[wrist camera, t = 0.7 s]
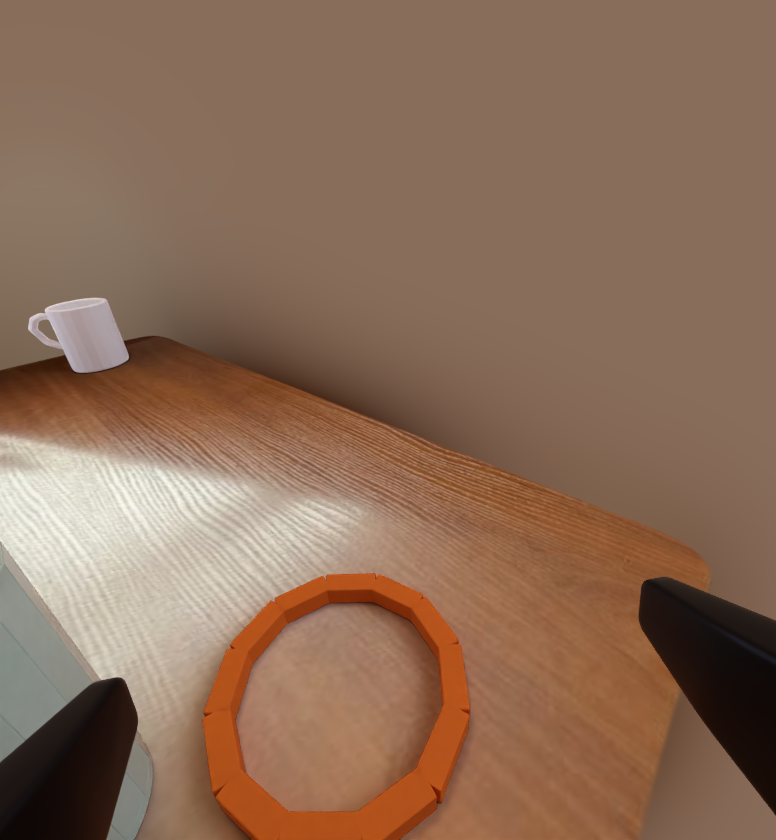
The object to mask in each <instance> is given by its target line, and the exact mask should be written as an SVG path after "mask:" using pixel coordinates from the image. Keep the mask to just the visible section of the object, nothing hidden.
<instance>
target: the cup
mask: <svg viewBox="0 0 776 840" xmlns="http://www.w3.org/2000/svg"><path fill="white" fill-rule="evenodd" d="M100 680H101V679H100V678H99V676H98V675H97V674H96V672H95V671H94V669H93V668H92V667H91V665H90V664H89V663H88V661H87V660H86V658H85V657H84V656H83V654H82V653H81V651H80V650H79V649H78V647H77V646H76V645H75V643H74V642H73V640H72V639H71V638H70V636H69V635H68V634H67V632H66V631H65V629H64V628H63V627H62V625H61V624H60V622H59V621H58V620H57V618H56V617H55V616H54V614H53V613H52V611H51V610H50V609H49V607H48V606H47V605H46V603H45V602H44V600H43V599H42V598H41V596H40V595H39V593H38V592H37V591H36V589H35V588H34V587H33V585H32V584H31V582H30V581H29V580H28V578H27V577H26V576H25V574H24V573H23V571H22V570H21V569H20V567H19V566H18V564H17V563H16V562H15V560H14V559H13V558H12V556H11V555H10V553H9V552H8V551H7V549H6V548H5V547H4V545H3V544H2V542H1V541H0V762H1V761H2V760H3V759H5V758H6V757H7V756H8V755H9V754H10V753H11V752H13V751H14V750H15V749H16V748H17V747H18V746H19V745H21V744H22V743H23V742H24V741H25V740H26V739H28V738H29V737H30V736H31V735H32V734H33V733H34V732H36V731H37V730H38V729H39V728H40V727H41V726H42V725H44V724H45V723H46V722H47V721H48V720H49V719H51V718H52V717H53V716H54V715H55V714H56V713H57V712H59V711H60V710H61V709H62V708H63V707H64V706H66V705H67V704H68V703H69V702H70V701H71V700H72V699H74V698H75V697H76V696H77V695H78V694H79V693H80V692H82V691H83V690H84V689H85V688H86V687H88V686H89V685H90V684H92V683H93V682H96V681H100ZM152 779H153V768H152V760H151V756H150V753H149V750H148V748H147V746H146V744H145V743H144V742H143V739H142V737H141V734H140V733H139V732H138V730H137V732H136V736H135V739H134V743H133V746H132V750H131V754H130V757H129V761H128V764H127V768H126V772H125V775H124V779H123V783H122V786H121V790H120V793H119V797H118V801H117V804H116V808H115V811H114V815H113V819H112V822H111V826H110V829H109V833H108V836H107V840H134V839H135V837H136V835H137V833H138V830H139V828H140V826H141V824H142V821H143V818H144V816H145V813H146V810H147V807H148V803H149V799H150V795H151V788H152Z"/></svg>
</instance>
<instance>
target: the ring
mask: <svg viewBox="0 0 776 840" xmlns="http://www.w3.org/2000/svg"><path fill="white" fill-rule="evenodd" d="M275 602H276V603H275ZM275 602H273V601H270V602H269V603H268V604H267V605H266V606H265V607H264V608H263V609H262V611H261V612H260V613H259V614H258V615H257V616H256V617H255V618H254V619H253V620H252V621H251V622H250V623H249V624H248V625H247V627H246V628H245V629H244V630H243V631H242V632H241V633H240V634H239V635H238V636H237V637H236V638H235V639H234V640H233V641H232V642H231V644H230V647H231V649H227V650H226V653H225V656H224V658H223V661H222V664H221V666H220V669H219V672H218V675H217V677H216V680H215V683H214V685H213V688H212V691H211V693H210V696H209V699H208V702H207V704H206V707H205V710H204V715H205V717H204V718H203V720H202V721H203V728H204V736H205V743H206V751H207V758H208V766H209V773H210V781H211V789H212V793H213V794H214V796H215V797H216V801H217V802H218V804H219V805H220V807H221V809H222V810H223V811H224V812H225V813H226V814H227V815H228V816H229V817H230V818H231V819H232V820H233V821H234V822H235V823H236V824H237V825H238V826H239V827H240V828H241V829H242V830H243V831H244V832H245V833H246V834H247V835H248V836H249V837H250V838H251V839H252V840H399V839H400V838H402V837H403V836H404V835H405V834H407V833H408V832H409V831H410V830H412V829H413V828H414V827H415V826H417V825H418V824H419V823H420V822H422V821H423V820H424V819H425V818H427V817H428V816H429V815H430V814H432V813H433V812H434V811H435V810H436V809H437V802H439V803H442V800H443V797H444V794H445V792H446V789H447V786H448V784H449V781H450V778H451V775H452V773H453V770H454V767H455V765H456V762H457V759H458V757H459V754H460V751H461V748H462V746H463V743H464V740H465V738H466V735H467V732H468V729H469V718H470V704H469V697H468V690H467V683H466V676H465V669H464V662H463V655H462V648H461V645H460V644H459V640H458V638H457V637H456V635H455V634H454V633H453V631H452V630H451V629H450V627H449V626H448V625H447V623H446V622H445V621H444V620H443V618H442V617H441V616H440V614H439V613H438V612H437V610H436V609H435V608H434V606H433V605H432V604H431V602H430V601H429V600H428V598H427V597H425V598H423V594H422V593H420V592H417V591H415V590H413V589H411V588H409V587H406V586H404V585H402V584H400V583H398V582H395V581H393V580H391V579H389V578H387V577H384V576H382V575H380V574H379V575H378V576H377V578H376V574H375V573H370V574H336V575H327V576H326V581H325V579H324V577H323V576H321V577H319V578H317V579H314V580H312V581H310V582H308V583H306V584H304V585H301V586H299V587H297V588H295V589H293V590H291V591H289V592H286V593H284V594H282V595H280V596H278V597H276V598H275ZM344 602H375V603H377V604H379V605H381V606H383V607H385V608H387V609H389V610H391V611H393V612H395V613H397V614H399V615H401V616H403V617H405V618H407V619H409V620H411V621H412V622H413V624H414V625H415V627H416V628H417V629H418V631H419V632H420V634H421V635H422V637H423V638H424V640H425V641H426V643H427V644H428V646H429V647H430V649H431V650H432V652H433V653H434V655H435V656H436V658H437V659H438V663H439V674H440V685H441V697H442V710H441V712H440V714H439V717H438V719H437V721H436V724H435V726H434V728H433V731H432V733H431V735H430V737H429V740H428V742H427V744H426V747H425V749H424V751H423V754H422V756H421V758H420V761H419V763H418V765H417V767H416V769H415V770H413V771H412V772H411V773H409V774H408V775H406V776H405V777H404V778H402V779H401V780H400V781H398V782H397V783H396V784H394V785H393V786H392V787H390V788H389V789H387V790H386V791H385V792H383V793H382V794H381V795H379V796H378V797H377V798H375V799H374V800H372V801H371V802H370V803H368V804H367V805H366V806H364V807H363V808H362V809H360V810H359V811H358V812H288V811H287V810H286V809H285V808H284V807H283V806H282V805H280V804H279V803H278V802H277V801H276V800H275V799H274V798H273V797H272V796H270V795H269V794H268V793H267V792H266V791H265V790H264V789H263V788H261V787H260V786H259V785H258V784H257V783H256V782H255V781H254V780H253V779H251V778H250V777H249V776H248V775H247V774H246V772H245V767H244V761H243V756H242V751H241V746H240V741H239V736H238V731H237V726H236V721H235V720H236V716H237V713H238V710H239V706H240V703H241V700H242V697H243V693H244V690H245V687H246V683H247V680H248V677H249V674H250V670H251V667H252V664H253V663H254V662H255V661H256V660H257V659H258V657H259V656H260V655H261V654H262V653H263V652H264V650H265V649H266V648H267V647H268V646H269V645H270V643H271V642H272V641H273V640H274V639H275V638H276V636H277V635H278V634H279V633H280V632H281V631H282V629H283V628H284V627H285V626H286V625H287V624H288V623H290V622H292V621H294V620H296V619H298V618H300V617H302V616H304V615H306V614H308V613H310V612H312V611H314V610H316V609H318V608H320V607H322V606H324V605H326V604H328V603H344Z"/></svg>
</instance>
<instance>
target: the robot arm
mask: <svg viewBox="0 0 776 840" xmlns="http://www.w3.org/2000/svg"><path fill="white" fill-rule="evenodd" d="M639 622H640V625H641V628H642V630H643V632H644V633H645V635H646V636H647V638H648V639H649V641H650V642H651V644H652V645H653V647H654V648H655V650H656V652H657V653H658V655H659V656H660V658H661V659H662V661H663V662H664V664H665V665H666V667H667V668H668V670H669V671H670V673H671V674H672V676H673V677H674V679H675V680H676V682H677V683H678V685H679V686H680V688H681V689H682V691H683V693H684V694H685V696H686V697H687V698H688V700H689V702H690V703H691V704H692V706H693V707H694V709H695V710H696V712H697V713H698V715H699V716H700V717H701V719H702V720H703V722H704V723H705V724H706V726H707V727H708V728H709V730H710V731H711V732H712V734H713V735H714V736H715V738H716V739H717V740H718V741H719V743H720V744H721V745H722V747H723V748H724V749H725V751H726V752H727V753H728V755H729V756H730V757H731V758H732V760H733V761H734V762H735V764H736V765H737V766H738V767H739V769H740V770H741V771H742V772H743V774H744V775H745V776H746V778H747V779H748V780H749V781H750V783H751V784H752V785H753V787H754V788H755V789H756V791H757V792H758V793H759V794H760V796H761V797H762V798H763V800H764V801H765V802H766V803H767V804H768V806H769V807H770V808H771V810H772V811H773V812H774V814H775V815H776V621H775V620H773V619H770V618H768V617H765V616H763V615H760V614H758V613H756V612H753V611H751V610H748V609H745V608H743V607H741V606H738V605H736V604H733V603H731V602H728V601H726V600H723V599H721V598H719V597H716V596H714V595H711V594H709V593H706V592H704V591H701V590H699V589H696V588H694V587H691V586H689V585H686V584H684V583H681V582H679V581H677V580H674V579H672V578H669V577H660V578H654V579H649V580H646V581H644V583H643V584H642V587H641V595H640V605H639ZM137 726H138V716H137V711H136V709H135V706H134V703H133V701H132V698H131V695H130V692H129V690H128V687H127V684H126V682H125V681H124V680H123V679H122V678H118V677H117V678H111V679H106V680H100V681H96V682H93V683H92V684H90V685H89V686H88V687H86V688H85V689H84V690H83V691H82V692H80V693H79V694H78V695H77V696H76V697H75V698H74V699H72V700H71V701H70V702H69V703H68V704H67V705H66V706H64V707H63V708H62V709H61V710H60V711H59V712H57V713H56V714H55V715H54V716H53V717H52V718H51V719H49V720H48V721H47V722H46V723H45V724H44V725H42V726H41V727H40V728H39V729H38V730H37V731H36V732H34V733H33V734H32V735H31V736H30V737H29V738H28V739H26V740H25V741H24V742H23V743H22V744H21V745H19V746H18V747H17V748H16V749H15V750H14V751H13V752H11V753H10V754H9V755H8V756H7V757H6V758H5V759H3V760H2V761H1V762H0V840H107V836H108V833H109V829H110V826H111V822H112V819H113V815H114V811H115V808H116V804H117V801H118V797H119V793H120V790H121V786H122V783H123V779H124V775H125V772H126V768H127V764H128V761H129V757H130V754H131V750H132V746H133V743H134V739H135V736H136V732H137Z"/></svg>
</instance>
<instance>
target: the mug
mask: <svg viewBox="0 0 776 840" xmlns="http://www.w3.org/2000/svg"><path fill="white" fill-rule="evenodd" d="M45 313H46V314H44V313H38V314H37V315H34V316H33V317H31V318H30V320H29V327H28V330H29V331H30V332H31V333H33V334H34V335H35V336H36V337H37V338H38V339H39V340H41V342H43V343H44V344H45V345H48V346H52V347H55V348H58V349H63V351H64V353H65V355H66V357H67V359H68V361H69V363H70V365H71V367H72V369H73V370H74V371H75V372H79V373H89V372H97V371H102V370H106V369H110V368H113V367H116V366H118V365H121V364H122V363H124V362H126V361H127V360H128V359H129V355H128V352H127V350H126V347H125V345H124V342H123V340H122V337H121V335H120V332H119V330H118V327H117V325H116V322H115V320H114V317H113V314H112V312H111V309H110V307H109V304H108V302H107V300H106V299H103V298H87V299H79V300H73V301H67V302H63V303H58V304H55V305H51V306H49V307H47V308H46V309H45ZM44 319H46V320H49V321H50V323H51V325H52V327H53V329H54V332H55V334H56V336H57V338H58V340H59V342H57V341H54V340H51V339H49V338H47V337H46V336H45V335H44V334H43V333H42V332H41V331H40V330H39V329H38V324H39V321H42V320H44Z"/></svg>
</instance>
